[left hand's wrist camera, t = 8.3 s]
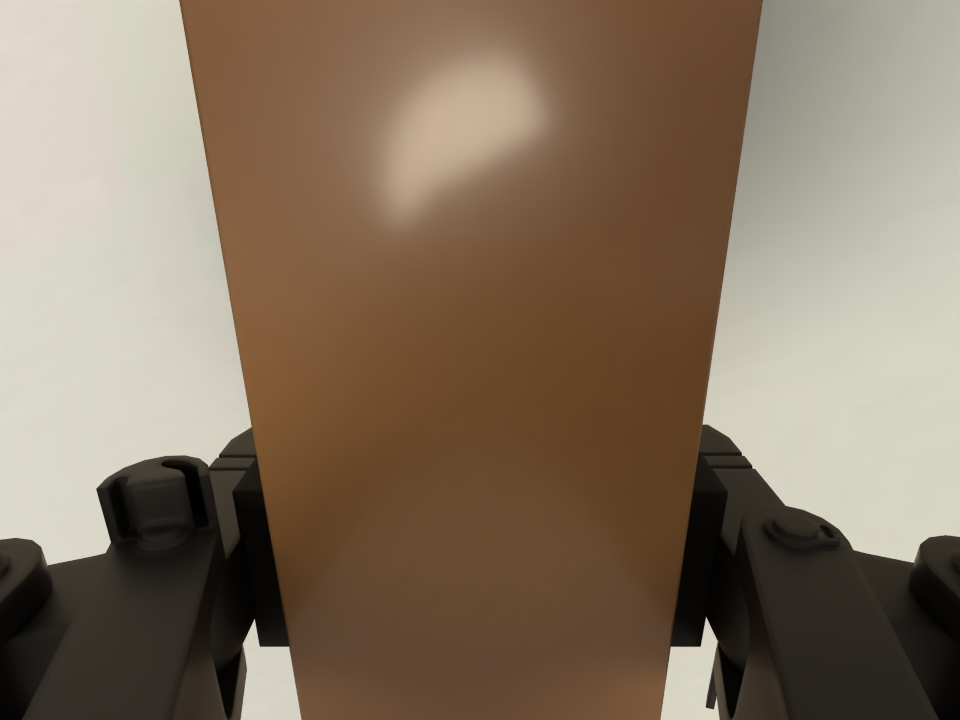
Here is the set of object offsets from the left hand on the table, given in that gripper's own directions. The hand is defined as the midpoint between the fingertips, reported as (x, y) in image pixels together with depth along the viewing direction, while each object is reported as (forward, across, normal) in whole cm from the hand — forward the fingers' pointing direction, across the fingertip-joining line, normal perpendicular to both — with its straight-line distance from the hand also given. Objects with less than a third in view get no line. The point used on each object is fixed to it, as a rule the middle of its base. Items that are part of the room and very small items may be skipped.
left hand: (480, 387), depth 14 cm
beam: (+1, 0, -23) cm, 23 cm away
